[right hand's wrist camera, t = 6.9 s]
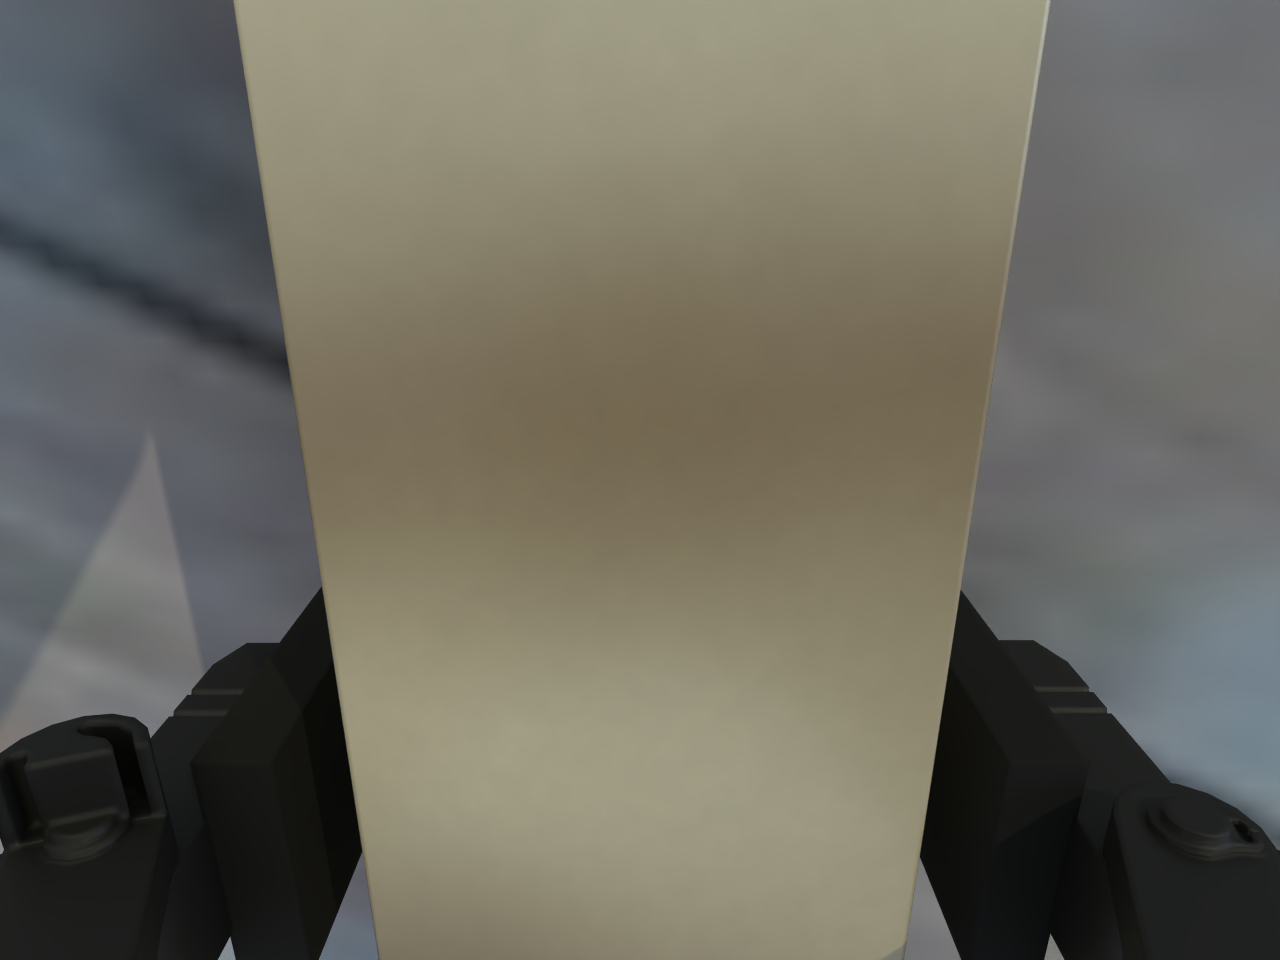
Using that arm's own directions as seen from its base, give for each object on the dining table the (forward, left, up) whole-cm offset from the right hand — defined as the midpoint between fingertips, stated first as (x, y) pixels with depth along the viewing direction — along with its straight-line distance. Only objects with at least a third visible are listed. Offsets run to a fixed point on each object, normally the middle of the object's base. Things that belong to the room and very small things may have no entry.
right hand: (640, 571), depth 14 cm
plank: (+9, 0, -1) cm, 9 cm away
